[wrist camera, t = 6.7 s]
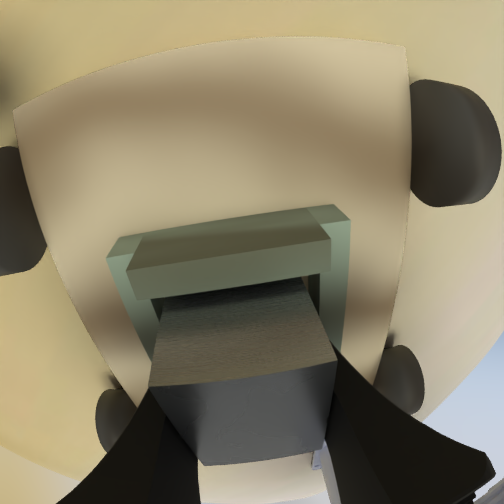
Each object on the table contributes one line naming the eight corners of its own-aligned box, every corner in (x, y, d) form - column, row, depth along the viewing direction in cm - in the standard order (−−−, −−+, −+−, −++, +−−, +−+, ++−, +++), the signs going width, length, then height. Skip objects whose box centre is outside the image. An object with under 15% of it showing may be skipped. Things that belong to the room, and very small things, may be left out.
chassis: (380, 385, 18) (403, 434, 14) (141, 422, 17) (135, 475, 13) (419, 55, 8) (497, 51, 4) (3, 121, 8) (-70, 142, 4)
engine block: (293, 349, 12) (321, 449, 8) (203, 362, 12) (204, 466, 8) (288, 249, 10) (337, 359, 6) (172, 267, 10) (147, 386, 5)
